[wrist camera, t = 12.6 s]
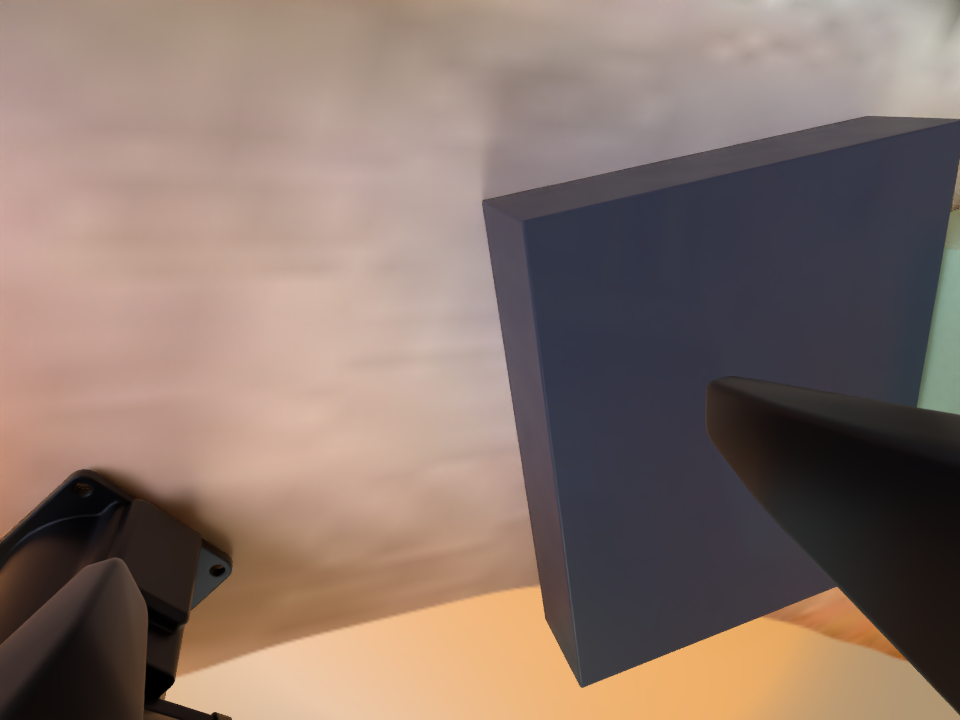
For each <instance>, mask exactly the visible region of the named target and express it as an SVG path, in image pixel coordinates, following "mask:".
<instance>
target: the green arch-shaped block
mask: <svg viewBox="0 0 960 720" xmlns="http://www.w3.org/2000/svg"><path fill="white" fill-rule="evenodd" d="M917 407H919V408H924V409H930V410H936V411H942V412H948V413H953V414H959V415H960V209H958V210H955V211H951V212H950V217H949V223H948V229H947V235H946V241H945V246H944V252H943V258H942V264H941V270H940V275H939V281H938V287H937V293H936V298H935V304H934V310H933V316H932V322H931V327H930V333H929V339H928V345H927V351H926V356H925V362H924V368H923V374H922V380H921V385H920V391H919V397H918V403H917Z"/></svg>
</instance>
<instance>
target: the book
mask: <svg viewBox="0 0 960 720" xmlns="http://www.w3.org/2000/svg"><path fill="white" fill-rule="evenodd" d="M959 160H960V119H943V118H912V117H882V116H866V117H861V118H856V119H852V120H847V121H843V122H838V123H834V124H829V125H825V126H820V127H815V128H811V129H806V130H802V131H797V132H793V133H788V134H783V135H779V136H774V137H770V138H765V139H761V140H756V141H752V142H747V143H742V144H738V145H733V146H729V147H724V148H720V149H715V150H711V151H706V152H701V153H697V154H692V155H688V156H683V157H679V158H674V159H670V160H665V161H660V162H656V163H651V164H647V165H642V166H638V167H633V168H629V169H624V170H619V171H615V172H610V173H606V174H601V175H597V176H592V177H588V178H583V179H578V180H574V181H569V182H565V183H560V184H556V185H551V186H547V187H542V188H537V189H533V190H528V191H524V192H519V193H515V194H510V195H506V196H501V197H496V198H492V199H487V200H484V201H483V202H482V205H483V211H484V218H485V224H486V231H487V237H488V244H489V251H490V257H491V264H492V270H493V277H494V283H495V290H496V297H497V303H498V310H499V316H500V323H501V330H502V336H503V343H504V349H505V356H506V362H507V369H508V376H509V382H510V389H511V395H512V402H513V408H514V415H515V422H516V428H517V435H518V441H519V448H520V454H521V461H522V468H523V474H524V481H525V487H526V494H527V500H528V507H529V514H530V520H531V527H532V533H533V540H534V547H535V553H536V560H537V566H538V573H539V579H540V586H541V592H542V598H543V605H544V612H545V619H546V621H547V623H548V625H549V627H550V629H551V630H552V633H553V634H554V636H555V638H556V640H557V642H558V644H559V646H560V648H561V650H562V652H563V654H564V656H565V658H566V660H567V662H568V664H569V666H570V668H571V670H572V672H573V674H574V675H575V677H576V679H577V681H578V683H579V685H580V687H582V688H583V687H585V686H588V685H590V684H593V683H595V682H598V681H600V680H603V679H605V678H608V677H611V676H613V675H615V674H618V673H621V672H623V671H626V670H628V669H631V668H633V667H636V666H638V665H641V664H643V663H646V662H648V661H651V660H653V659H656V658H658V657H661V656H663V655H665V654H668V653H671V652H673V651H676V650H678V649H681V648H683V647H686V646H688V645H691V644H694V643H696V642H698V641H701V640H703V639H706V638H709V637H711V636H714V635H716V634H719V633H721V632H724V631H726V630H729V629H731V628H734V627H736V626H739V625H741V624H744V623H746V622H749V621H751V620H754V619H756V618H759V617H761V616H764V615H766V614H769V613H771V612H774V611H776V610H779V609H782V608H784V607H787V606H789V605H792V604H794V603H797V602H799V601H802V600H804V599H807V598H809V597H812V596H814V595H817V594H819V593H822V592H824V591H827V590H829V589H832V588H834V587H837V586H836V585H835V583H834V582H833V581H832V580H831V579H830V578H829V577H828V576H827V575H826V574H825V573H824V572H823V571H822V570H821V569H820V568H819V567H818V566H817V565H816V563H815V562H814V561H813V560H812V559H811V558H810V557H809V556H808V555H807V554H806V553H805V552H804V551H803V550H802V549H801V548H800V547H799V546H798V545H797V543H796V542H795V541H794V540H793V539H792V538H791V537H790V536H789V535H788V534H787V533H786V532H785V531H784V530H783V529H782V528H781V527H780V526H779V525H778V523H777V522H776V521H775V520H774V519H773V518H772V517H771V516H770V515H769V514H768V513H767V511H766V510H765V509H764V508H763V507H762V506H761V504H760V503H759V502H758V501H757V500H756V498H755V497H754V496H753V495H752V493H751V492H750V491H749V489H748V488H747V487H746V486H745V484H744V483H743V482H742V480H741V479H740V478H739V476H738V475H737V474H736V473H735V471H734V470H733V469H732V467H731V466H730V465H729V464H728V462H727V461H726V460H725V458H724V457H723V456H722V454H721V453H720V452H719V451H718V449H717V448H716V447H715V445H714V444H713V443H712V442H711V440H710V438H709V436H708V434H707V432H706V427H705V393H706V387H707V385H708V384H709V383H710V382H711V381H714V380H717V379H720V378H724V377H727V376H738V377H744V378H750V379H756V380H762V381H767V382H773V383H779V384H785V385H791V386H796V387H802V388H808V389H814V390H820V391H825V392H831V393H837V394H843V395H849V396H855V397H860V398H866V399H872V400H878V401H884V402H889V403H895V404H901V405H907V406H913V407H917V403H918V397H919V391H920V385H921V380H922V374H923V368H924V362H925V356H926V351H927V345H928V339H929V333H930V327H931V322H932V316H933V310H934V304H935V298H936V293H937V287H938V281H939V275H940V270H941V264H942V258H943V252H944V246H945V241H946V235H947V229H948V223H949V217H950V212H951V206H952V200H953V194H954V188H955V183H956V177H957V171H958V165H959Z"/></svg>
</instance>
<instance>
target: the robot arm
mask: <svg viewBox="0 0 960 720" xmlns="http://www.w3.org/2000/svg"><path fill="white" fill-rule="evenodd" d="M705 427H706V432H707V434H708V436H709V438H710V440H711V442H712V443H713V444H714V445H715V447H716V448H717V449H718V451H719V452H720V453H721V454H722V456H723V457H724V458H725V460H726V461H727V462H728V464H729V465H730V466H731V467H732V469H733V470H734V471H735V473H736V474H737V475H738V476H739V478H740V479H741V480H742V482H743V483H744V484H745V486H746V487H747V488H748V489H749V491H750V492H751V493H752V495H753V496H754V497H755V498H756V500H757V501H758V502H759V503H760V504H761V506H762V507H763V508H764V509H765V510H766V511H767V513H768V514H769V515H770V516H771V517H772V518H773V519H774V520H775V521H776V522H777V523H778V525H779V526H780V527H781V528H782V529H783V530H784V531H785V532H786V533H787V534H788V535H789V536H790V537H791V538H792V539H793V540H794V541H795V542H796V543H797V545H798V546H799V547H800V548H801V549H802V550H803V551H804V552H805V553H806V554H807V555H808V556H809V557H810V558H811V559H812V560H813V561H814V562H815V563H816V565H817V566H818V567H819V568H820V569H821V570H822V571H823V572H824V573H825V574H826V575H827V576H828V577H829V578H830V579H831V580H832V581H833V582H834V583H835V585H836V586H837V587H838V588H839V589H840V590H841V591H842V592H843V593H844V594H845V595H846V596H847V597H848V598H849V599H850V600H851V601H852V602H853V603H854V605H855V606H856V607H857V608H858V609H859V610H860V611H861V612H862V613H863V614H864V615H865V616H866V617H867V618H868V619H869V620H870V621H871V622H872V623H873V624H874V626H875V627H876V628H877V629H878V630H879V631H880V632H881V633H882V634H883V635H884V636H885V637H886V638H887V639H888V640H889V641H890V642H891V643H892V644H893V646H894V647H895V648H896V649H897V650H898V651H899V652H900V653H901V654H902V655H903V656H904V657H905V658H906V659H907V660H908V661H909V662H910V663H911V664H912V665H913V667H914V668H915V669H916V670H917V671H918V672H919V673H920V674H921V675H922V676H923V677H924V678H925V679H926V680H927V681H928V682H929V683H930V684H931V686H932V687H933V688H934V689H935V690H936V691H937V692H938V693H939V694H940V695H941V696H942V697H943V698H944V699H945V700H946V701H947V702H948V703H949V704H950V706H951V707H953V708H954V710H955V711H956V712H957V713H958V714H959V715H960V415H959V414H953V413H948V412H942V411H936V410H930V409H924V408H919V407H913V406H907V405H901V404H895V403H889V402H884V401H878V400H872V399H866V398H860V397H855V396H849V395H843V394H837V393H831V392H825V391H820V390H814V389H808V388H802V387H796V386H791V385H785V384H779V383H773V382H767V381H762V380H756V379H750V378H744V377H738V376H727V377H724V378H720V379H717V380H714V381H711V382H710V383H709V384H708V385H707V387H706V393H705ZM77 483H86V484H88V485H89V486H90V487H91V488H89V489H82V488H80V487H79V486H78V485H77ZM215 565H222V566H223V567H222V568H220V569H216V568H213V566H215ZM232 565H233V561H232V558H231V557H230V556H229V555H228V554H227V553H225V552H223V551H222V550H220V549H218V548H217V547H215V546H214V545H212V544H210V543H209V542H207V541H206V540H204V539H202V538H201V535H200V534H199V533H198V532H196V531H194V530H193V529H191V528H189V527H188V526H186V525H185V524H183V523H181V522H180V521H178V520H177V519H175V518H173V517H172V516H170V515H169V514H167V513H165V512H164V511H162V510H161V509H159V508H157V507H156V506H154V505H153V504H151V503H149V502H148V501H146V500H143V499H138V498H136V497H135V496H133V495H132V494H130V493H128V492H127V491H125V490H123V489H122V488H120V487H119V486H117V485H115V484H114V483H112V482H111V481H109V480H107V479H106V478H104V477H103V476H101V475H99V474H98V473H96V472H94V471H91V470H79V471H76V472H74V473H73V474H71V475H70V476H69V477H68V478H67V479H66V480H65V481H64V482H63V483H62V484H61V485H59V486H58V487H57V488H56V489H55V490H54V491H53V492H52V493H51V494H50V495H49V496H48V497H46V498H45V499H44V500H43V501H42V502H41V503H40V504H39V505H38V506H37V507H36V508H35V509H34V510H32V511H31V512H30V513H29V514H28V515H27V516H26V517H25V518H24V519H23V520H22V521H21V522H19V523H18V524H17V525H16V526H15V527H14V528H13V529H12V530H11V531H10V532H9V533H8V534H7V535H5V536H4V537H3V538H2V539H1V540H0V720H232V718H231V717H229V716H226V715H223V714H219V713H216V712H214V713H212V714H211V715H209V714H206V713H203V712H200V711H197V710H194V709H191V708H187V707H184V706H181V705H178V704H175V703H172V702H169V701H166V700H165V696H166V691H167V690H168V689H169V688H170V687H171V686H172V685H173V683H174V682H175V677H176V671H177V666H178V660H179V654H180V649H181V643H182V637H183V632H184V626H185V624H186V623H187V622H188V620H189V616H190V611H191V610H192V609H193V608H194V607H196V606H197V605H198V604H199V603H200V602H201V601H202V600H203V599H204V598H206V597H207V596H208V595H209V594H210V593H211V592H212V591H213V590H214V589H216V588H217V587H218V586H219V585H220V584H221V583H222V582H223V581H224V580H225V579H227V578H228V577H229V575H230V574H231V572H232Z"/></svg>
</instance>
